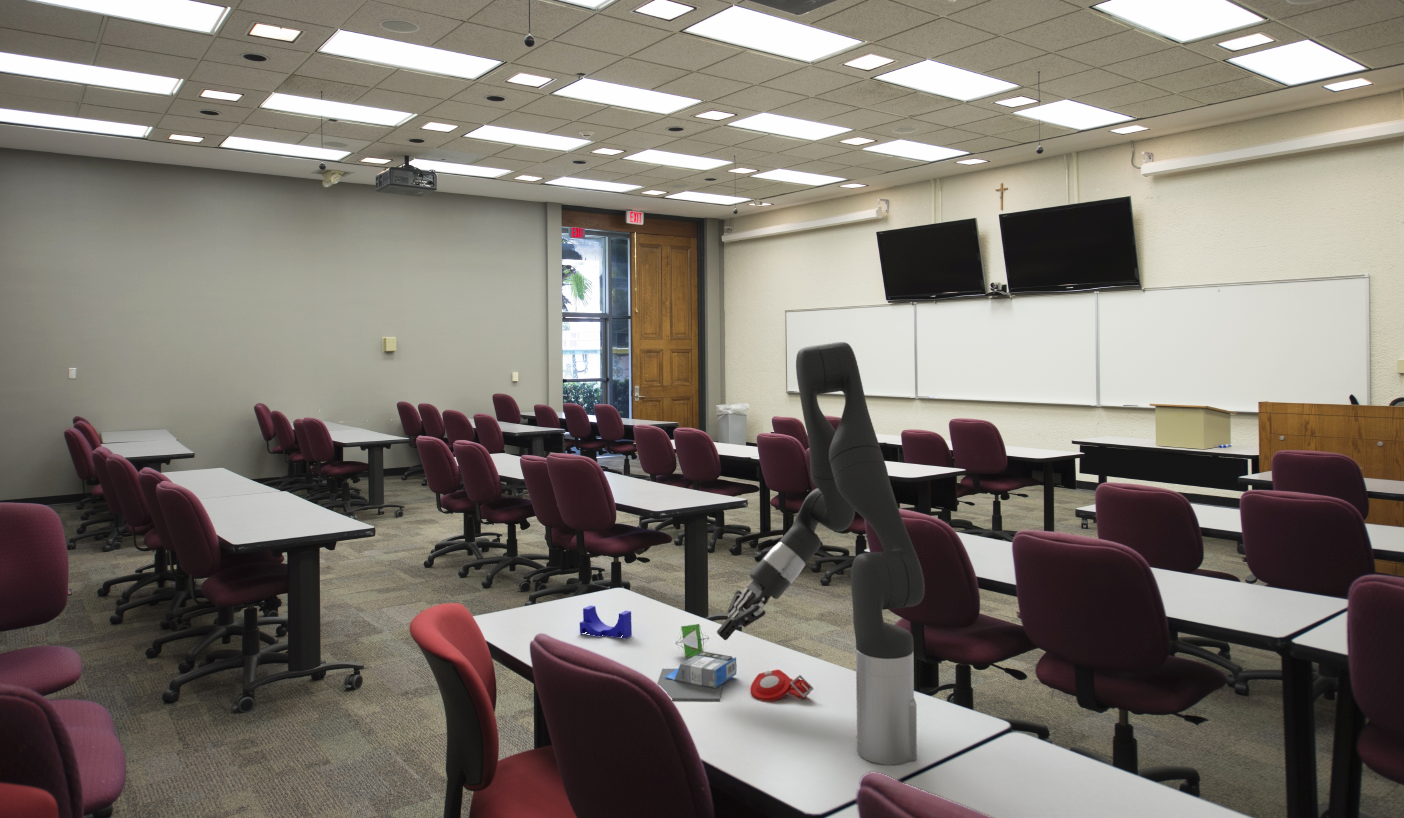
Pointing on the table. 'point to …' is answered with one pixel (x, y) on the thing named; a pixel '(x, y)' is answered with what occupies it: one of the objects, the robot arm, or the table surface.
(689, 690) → the mat
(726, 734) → the table surface
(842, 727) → the table surface
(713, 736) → the table surface
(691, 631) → the geometric puzzle
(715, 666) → the label tape box
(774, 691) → the tracker holder
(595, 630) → the blue cradle support
